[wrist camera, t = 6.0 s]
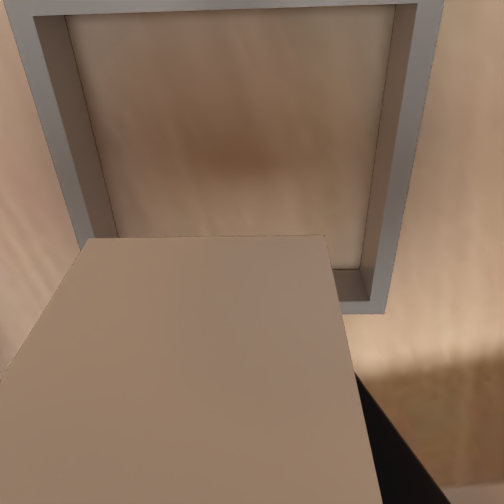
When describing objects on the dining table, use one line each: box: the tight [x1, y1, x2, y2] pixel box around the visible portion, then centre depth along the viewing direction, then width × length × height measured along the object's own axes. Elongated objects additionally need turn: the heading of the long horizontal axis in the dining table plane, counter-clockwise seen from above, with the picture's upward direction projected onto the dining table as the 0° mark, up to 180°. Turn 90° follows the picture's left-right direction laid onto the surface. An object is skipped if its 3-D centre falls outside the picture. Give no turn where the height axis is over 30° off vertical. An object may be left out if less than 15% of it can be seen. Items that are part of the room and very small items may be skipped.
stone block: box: [0, 235, 383, 504], centre depth 8 cm, size 5×5×6 cm
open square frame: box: [3, 0, 444, 314], centre depth 18 cm, size 14×14×2 cm
